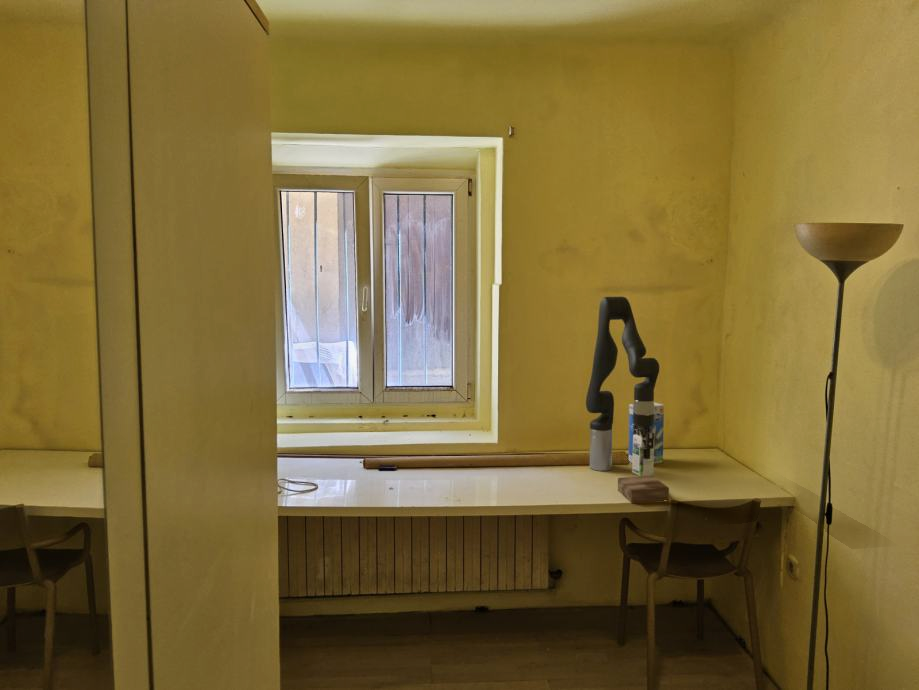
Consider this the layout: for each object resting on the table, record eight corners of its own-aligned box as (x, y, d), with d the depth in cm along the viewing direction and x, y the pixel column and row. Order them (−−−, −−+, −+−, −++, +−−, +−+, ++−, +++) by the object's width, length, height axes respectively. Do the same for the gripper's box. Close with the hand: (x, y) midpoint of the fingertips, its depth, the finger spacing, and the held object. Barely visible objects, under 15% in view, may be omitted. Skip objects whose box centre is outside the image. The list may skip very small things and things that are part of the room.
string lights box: (637, 466, 278) (638, 407, 276) (627, 461, 285) (628, 403, 283) (663, 462, 283) (664, 404, 280) (653, 458, 290) (653, 401, 287)
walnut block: (617, 490, 248) (618, 477, 247) (653, 488, 249) (653, 476, 249) (631, 503, 234) (631, 489, 233) (668, 501, 235) (668, 487, 235)
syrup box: (631, 472, 242) (632, 434, 241) (644, 470, 244) (645, 432, 243) (640, 476, 237) (641, 438, 235) (654, 474, 239) (654, 436, 238)
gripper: (626, 408, 245) (626, 451, 247) (641, 416, 231) (640, 462, 232) (645, 407, 246) (645, 450, 248) (661, 415, 231) (660, 461, 233)
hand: (643, 456), depth 240 cm, fingers closed on syrup box, 6 cm apart
